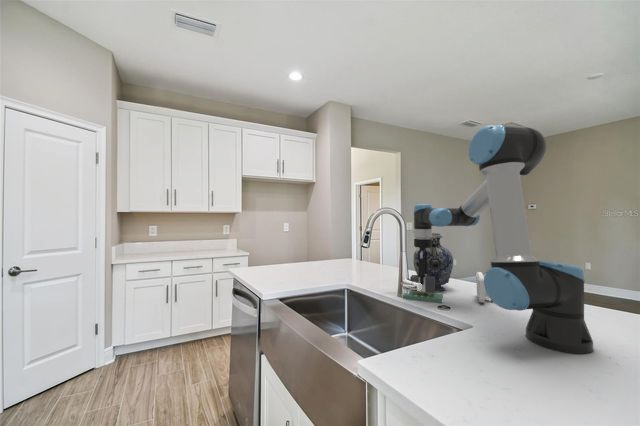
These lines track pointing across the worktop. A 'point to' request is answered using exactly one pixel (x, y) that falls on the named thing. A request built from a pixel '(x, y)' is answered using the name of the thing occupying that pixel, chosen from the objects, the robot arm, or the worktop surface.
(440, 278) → the decorative vase
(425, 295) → the header board
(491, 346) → the worktop surface
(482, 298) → the cable organizer
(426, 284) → the plug housing
